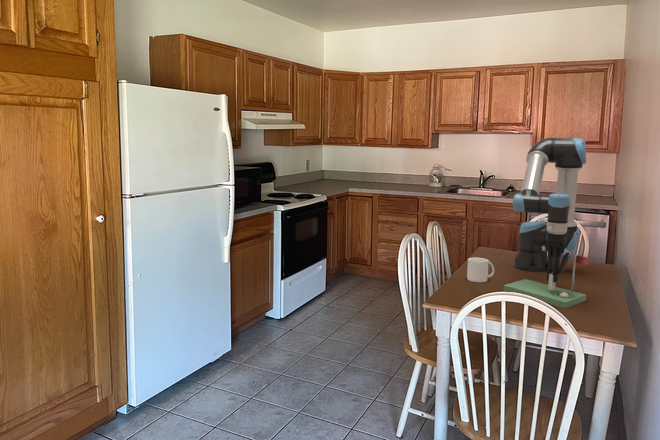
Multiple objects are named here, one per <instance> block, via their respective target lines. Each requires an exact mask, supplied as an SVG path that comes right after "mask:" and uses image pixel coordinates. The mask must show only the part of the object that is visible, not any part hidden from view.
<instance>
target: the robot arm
mask: <svg viewBox="0 0 660 440" xmlns="http://www.w3.org/2000/svg"><path fill="white" fill-rule="evenodd" d="M586 148H587V146H586V140H585V139H584V138H581V137H579V138H578V137H547V138H544V139H541V140H539V141H537V142H536V143H535V144H533V146H532V147H531V148H530V149H529V150H528V152H527V155H526V159H525V160H526V164H527V165H526V169H525V172H524V177H523V182H522V186H521V189H520V193H516V194H514V196H513V199H512V209H513V211H515V212H521V213H533V214H547V219H546V220H547V221H541V220H539V221H538V220H536V221H525V222H522V223H521V224H520V229H519V232H518V233H519V239H518V251H517V253H516V256H515V258H514V261H513V267H514V268H515V269H518V270H522V271H527V272H529V271H530V272H542V271H544V272H546V274H547V275H546V281H548V284H547V285H548V289H549V290H554V289H555V287H556V283H558V281H559V275H561V274H564V272H565V269H566V267H567V264H568V261H569V258H570V257H571V256H572V254H573V251H575V250H576V248H577V243H578V239H579V234H580V231H581V229H580V227H579V226H578V223H577V222H576V221H575V213H576V211H575V210H576V200H577V191H578V190H577V189H578V187H577V186H578V181H579V180H578V179H579V178H578V177H579V172H580V170H581V169H583V165H585V164H587V149H586ZM548 163H551V164H554V168H555V169H556V170H557V181H556V182H557V183H556V191H555V193H550V194H549V195H540V193H541V192H540V191H541V187H542V182H543V177H544V173H545V168H546V167H545V166H547V165H548ZM562 254H563V256H562ZM561 258H562V259H561Z"/></svg>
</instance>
